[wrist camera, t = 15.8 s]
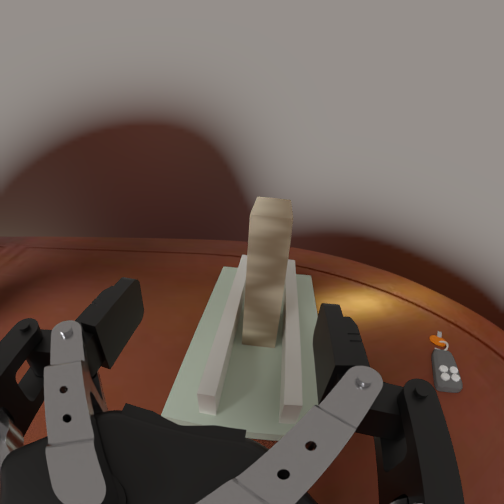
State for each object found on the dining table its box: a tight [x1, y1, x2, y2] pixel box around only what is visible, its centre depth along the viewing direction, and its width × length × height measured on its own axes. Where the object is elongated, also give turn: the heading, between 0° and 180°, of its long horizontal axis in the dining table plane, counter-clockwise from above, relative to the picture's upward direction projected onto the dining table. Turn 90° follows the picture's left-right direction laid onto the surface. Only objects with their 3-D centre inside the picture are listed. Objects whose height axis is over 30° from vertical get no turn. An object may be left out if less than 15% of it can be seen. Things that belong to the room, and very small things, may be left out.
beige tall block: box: [242, 197, 293, 348], centre depth 24 cm, size 3×6×12 cm, turn 174°
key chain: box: [430, 331, 462, 393], centre depth 24 cm, size 13×4×2 cm, turn 159°
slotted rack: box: [161, 255, 318, 441], centre depth 26 cm, size 24×12×4 cm, turn 174°
